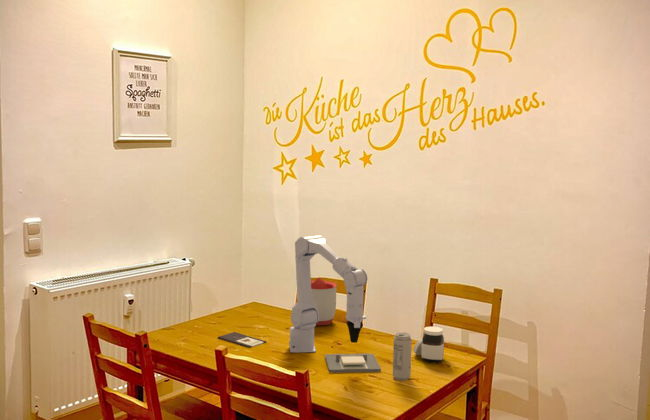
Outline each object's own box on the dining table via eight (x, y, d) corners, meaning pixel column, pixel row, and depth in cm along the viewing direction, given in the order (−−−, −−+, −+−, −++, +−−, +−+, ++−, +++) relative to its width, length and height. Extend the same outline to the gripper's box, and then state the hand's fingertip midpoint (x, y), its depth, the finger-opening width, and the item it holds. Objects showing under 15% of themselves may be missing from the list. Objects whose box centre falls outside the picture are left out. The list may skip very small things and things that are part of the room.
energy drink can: (413, 380, 222) (415, 336, 220) (397, 382, 219) (398, 338, 218) (405, 373, 227) (406, 331, 225) (389, 375, 225) (390, 333, 223)
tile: (340, 356, 236) (340, 358, 236) (343, 362, 229) (343, 364, 229) (362, 356, 237) (362, 358, 237) (365, 362, 230) (365, 364, 230)
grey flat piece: (329, 372, 227) (329, 364, 227) (324, 357, 243) (325, 349, 242) (380, 371, 229) (381, 363, 228) (373, 356, 244) (373, 348, 244)
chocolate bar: (234, 331, 270) (266, 341, 258) (234, 334, 270) (266, 343, 259) (217, 336, 263) (249, 346, 252) (217, 339, 263) (249, 349, 252)
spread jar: (440, 365, 236) (441, 334, 235) (409, 361, 240) (410, 330, 238) (446, 355, 247) (447, 325, 246) (416, 351, 251) (417, 321, 250)
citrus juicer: (295, 317, 294) (296, 273, 292) (334, 317, 296) (334, 273, 294) (297, 328, 279) (298, 281, 276) (338, 327, 281) (339, 281, 278)
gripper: (369, 309, 223) (368, 348, 224) (363, 298, 237) (362, 335, 239) (348, 309, 222) (347, 348, 224) (343, 299, 236) (342, 335, 238)
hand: (353, 342), depth 231 cm, fingers closed
